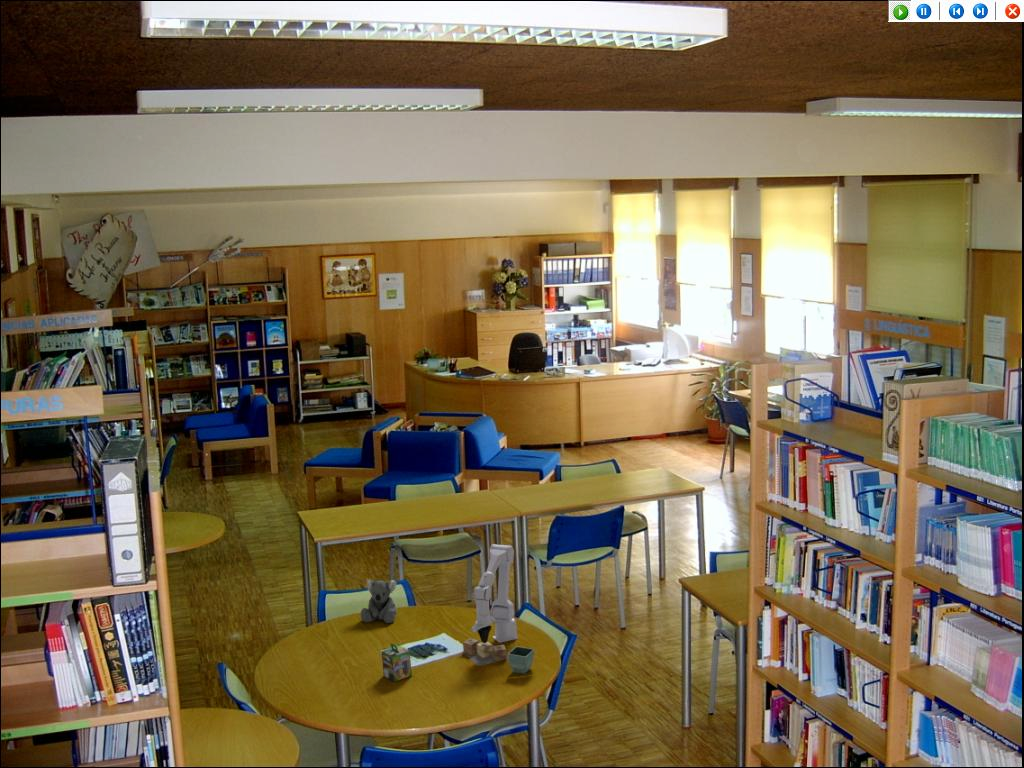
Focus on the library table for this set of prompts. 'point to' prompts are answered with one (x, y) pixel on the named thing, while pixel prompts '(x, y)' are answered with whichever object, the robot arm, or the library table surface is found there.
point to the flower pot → (521, 659)
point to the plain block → (484, 649)
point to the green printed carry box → (396, 663)
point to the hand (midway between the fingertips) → (484, 642)
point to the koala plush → (380, 602)
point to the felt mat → (481, 659)
